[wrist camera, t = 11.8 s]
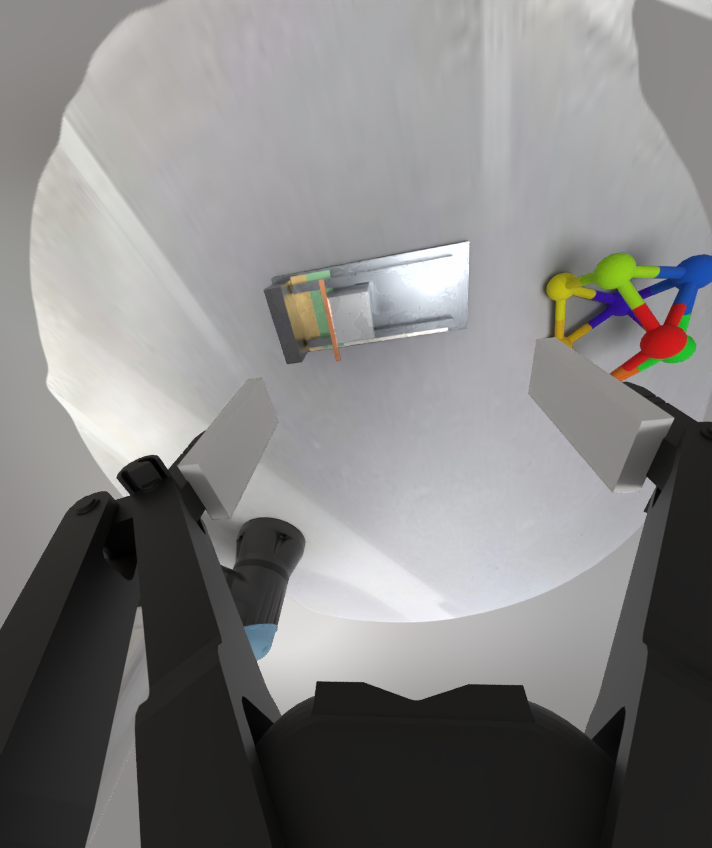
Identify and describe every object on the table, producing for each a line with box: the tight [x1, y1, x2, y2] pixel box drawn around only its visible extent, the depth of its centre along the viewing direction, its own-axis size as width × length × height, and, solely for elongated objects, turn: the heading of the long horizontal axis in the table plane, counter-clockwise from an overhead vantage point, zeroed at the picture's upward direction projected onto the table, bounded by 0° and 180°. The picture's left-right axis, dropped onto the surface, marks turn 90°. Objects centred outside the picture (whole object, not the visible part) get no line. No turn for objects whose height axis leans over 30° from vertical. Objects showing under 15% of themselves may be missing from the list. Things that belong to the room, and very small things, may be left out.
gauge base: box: [264, 241, 469, 364], centre depth 38 cm, size 24×10×6 cm, turn 100°
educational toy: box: [546, 253, 712, 381], centre depth 33 cm, size 16×13×15 cm
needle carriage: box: [318, 279, 375, 361], centre depth 37 cm, size 5×9×6 cm, turn 10°
